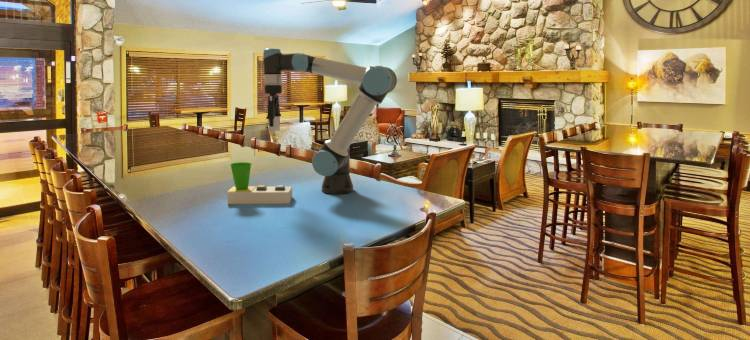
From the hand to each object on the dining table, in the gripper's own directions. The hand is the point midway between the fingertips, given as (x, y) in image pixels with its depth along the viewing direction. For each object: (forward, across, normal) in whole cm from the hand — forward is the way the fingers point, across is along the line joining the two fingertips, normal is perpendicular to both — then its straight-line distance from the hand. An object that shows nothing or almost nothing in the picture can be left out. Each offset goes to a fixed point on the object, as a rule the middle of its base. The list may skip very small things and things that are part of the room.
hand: (274, 132), depth 214 cm
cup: (+24, +12, -13) cm, 29 cm away
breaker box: (+29, +12, -5) cm, 32 cm away
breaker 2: (+28, +12, +4) cm, 31 cm away
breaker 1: (+28, +12, -4) cm, 31 cm away
